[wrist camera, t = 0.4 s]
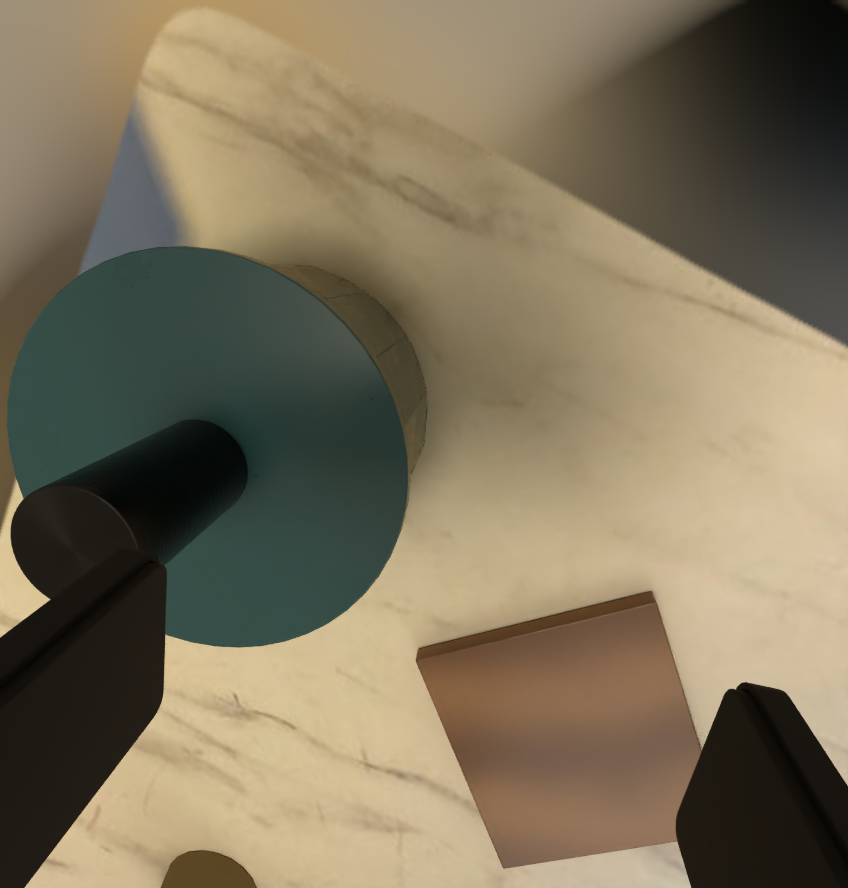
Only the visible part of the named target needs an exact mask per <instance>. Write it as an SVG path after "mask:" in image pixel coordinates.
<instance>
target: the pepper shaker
mask: <svg viewBox="0 0 848 888" xmlns="http://www.w3.org/2000/svg"><path fill="white" fill-rule="evenodd" d="M161 888H256V887H255V884H254V882H253V880H252V878H251V877H250V875H249V874H248V873H247V872H246V871H245V870H244V868H243V867H241V866H240V865H238V864H237V863H236V862H234V861H233V860H231V859H229V858H227V857H225V856H222V855H220V854H217V853H212V852H206V851H195V852H188V853H186V854H183V855H181V856H179V857H177V858H176V859H175V860H174V861H173V862H172V863H171V864H170V867H169V869H168V871H167V874H166V876H165V879H164V881H163V884H162V886H161Z"/></svg>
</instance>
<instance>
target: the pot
mask: <svg viewBox="0 0 848 888" xmlns="http://www.w3.org/2000/svg"><path fill="white" fill-rule="evenodd" d="M271 266H273V267H276V268H278V269H280V270H282V271H284V272H285V273H287V274H289V275H291V276H292V277H294V278H296V279H298V280H300V281H301V282H303V283H305V284H306V285H307V286H309V287H310V288H311V289H313V290H314V291H315V292H317V293H318V294H319V295H321V296H322V297H323V298H325V299H326V300H327V301H329V302H330V303H331V304H332V305H333V306H334V307H335V308H336V309H337V310H338V311H339V312H340V313H341V314H342V315H343V316H344V317H345V318H346V319H347V320H348V321H350V323H351V324H352V325H353V326H354V328H355V329H356V330H357V331H358V332H359V334H360V335H361V336H362V337H363V339H364V340H365V341H366V342H367V344H368V345H369V346H370V348H371V349H372V351H373V353H374V354H375V356H376V357H377V359H378V361H379V362H380V364H381V366H382V367H383V369H384V370H385V372H386V375H387V377H388V379H389V381H390V383H391V386H392V388H393V390H394V392H395V394H396V396H397V399H398V403H399V406H400V409H401V412H402V415H403V419H404V422H405V426H406V432H407V438H408V443H409V449H410V469H411V473H412V471H413V469H414V467H415V464H416V462H417V460H418V457H419V455H420V453H421V451H422V448H423V446H424V442H425V429H426V419H427V396H426V393H427V391H426V386H425V383H424V378H423V375H422V372H421V368H420V365H419V361H418V359H417V357H416V355H415V352H414V350H413V348H412V346H411V343H410V342H409V340H408V337H407V336H406V334H405V333H404V332H403V330H402V329H401V327H400V326H399V325H398V323H397V322H396V321H395V320H394V318H393V317H392V316H391V315H390V313H389V312H388V311H387V310H386V309H385V308H384V307H382V306H381V305H380V304H379V303H378V302H377V301H376V300H375V299H374V298H373V297H371V296H370V295H369V293H366V291H364V290H362V289H361V288H359V287H357V286H355V285H354V284H352V283H350V282H348V281H347V280H345V279H343V278H340V277H338V276H335V275H333V274H330V273H328V272H325V271H323V270H321V269H319V268H316V267H312V266H292V265H271Z"/></svg>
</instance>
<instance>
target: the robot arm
mask: <svg viewBox="0 0 848 888" xmlns="http://www.w3.org/2000/svg"><path fill="white" fill-rule="evenodd" d="M166 594H167V569H166V567H165V566H164V565H161V564H159V559H158V557H157V556H156V555H155V554H151V553H147V552H142V551H137V550H133V549H128V548H119V549H118V550H116V551H114V552H113V553H112V554H110V555H109V556H108V557H106V558H105V559H104V560H102V561H101V562H100V563H99V564H97V565H96V566H95V567H93V568H92V569H91V570H89V571H88V572H87V573H85V574H84V575H83V576H81V577H80V578H79V579H77V580H76V581H75V582H73V583H72V584H71V585H69V586H68V587H67V588H65V589H64V590H63V591H61V592H60V593H59V594H57V595H56V596H55V597H54V598H52V599H51V600H50V601H48V602H47V603H46V604H44V605H43V606H42V607H40V608H39V609H38V610H36V611H35V612H34V613H32V614H31V615H30V616H28V617H27V618H26V619H24V620H23V621H22V622H20V623H19V624H18V625H16V626H15V627H14V628H12V629H11V630H10V631H8V632H7V633H6V634H5V635H3V636H2V637H1V638H0V888H25V886H26V885H27V884H28V882H29V881H30V880H31V878H32V877H33V876H34V874H35V873H36V872H37V870H38V869H39V868H40V866H41V865H42V864H43V863H44V861H45V860H46V859H47V857H48V856H49V855H50V853H51V852H52V851H53V849H54V848H55V847H56V845H57V844H58V843H59V841H60V840H61V839H62V837H63V836H64V835H65V834H66V832H67V831H68V830H69V828H70V827H71V826H72V824H73V823H74V822H75V820H76V819H77V818H78V816H79V815H80V814H81V812H82V811H83V810H84V809H85V807H86V806H87V805H88V803H89V802H90V801H91V799H92V798H93V797H94V795H95V794H96V793H97V791H98V790H99V789H100V787H101V786H102V785H103V784H104V782H105V781H106V780H107V778H108V777H109V776H110V774H111V773H112V772H113V770H114V769H115V768H116V766H117V765H118V764H119V762H120V761H121V760H122V758H123V757H124V756H125V755H126V753H127V752H128V751H129V749H130V748H131V747H132V745H133V744H134V743H135V741H136V740H137V739H138V737H139V736H140V735H141V733H142V732H143V731H144V730H145V728H146V727H147V726H148V724H149V723H150V722H151V720H152V719H153V718H154V716H155V715H156V713H157V711H158V709H159V707H160V704H161V702H162V698H163V690H164V658H165V626H166ZM676 837H677V841H678V845H679V848H680V851H681V855H682V858H683V861H684V865H685V868H686V871H687V875H688V878H689V881H690V885H691V888H848V786H847V784H846V783H845V781H844V780H843V778H842V777H841V775H840V774H839V772H838V771H837V769H836V768H835V766H834V765H833V763H832V761H831V760H830V758H829V757H828V755H827V754H826V752H825V751H824V749H823V748H822V746H821V745H820V743H819V742H818V740H817V739H816V737H815V736H814V734H813V732H812V731H811V729H810V728H809V726H808V725H807V723H806V722H805V720H804V719H803V717H802V716H801V714H800V713H799V711H798V710H797V708H796V707H795V705H794V703H793V702H792V700H791V699H790V697H789V696H788V695H787V694H786V693H785V692H784V691H782V690H779V689H775V688H770V687H765V686H761V685H756V684H752V683H747V682H744V683H741V684H740V685H739V686H738V687H737V689H736V690H735V689H729V690H728V691H726V693H725V695H724V697H723V699H722V702H721V704H720V707H719V709H718V712H717V714H716V717H715V719H714V722H713V724H712V727H711V729H710V732H709V734H708V737H707V739H706V742H705V744H704V747H703V749H702V752H701V754H700V757H699V759H698V762H697V764H696V767H695V769H694V772H693V774H692V777H691V779H690V782H689V784H688V787H687V789H686V792H685V794H684V797H683V800H682V802H681V805H680V807H679V810H678V812H677V816H676Z"/></svg>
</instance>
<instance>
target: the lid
mask: <svg viewBox="0 0 848 888" xmlns="http://www.w3.org/2000/svg"><path fill="white" fill-rule="evenodd" d="M7 409H8V410H7V430H8V438H9V448H10V454H11V458H12V463H13V467H14V471H15V475H16V479H17V481H18V484H19V487H20V490H21V493H22V495H23V498H24V499H23V500H22V502H21V503H20V504H19V506H18V507H17V509H16V511H15V513H14V516H13V519H12V524H11V544H12V548H13V553H14V555H15V558H16V561H17V563H18V564H19V566H20V568H21V570H22V571H23V573H24V575H25V576H26V577H27V579H28V580H29V581H30V582H31V583H32V584H33V585H34V586H35V587H36V588H37V589H38V590H39V591H40V592H41V593H42V594H44V595H45V596H46V597H48V598H49V599H52V598H54V597H55V596H56V595H57V594H59V593H60V592H61V591H63V590H64V589H65V588H67V587H68V586H69V585H71V584H72V583H73V582H75V581H76V580H77V579H79V578H80V577H81V576H83V575H84V574H85V573H87V572H88V571H89V570H91V569H92V568H93V567H95V566H96V565H97V564H99V563H100V562H101V561H102V560H104V559H105V558H106V557H108V556H109V555H110V554H112V553H113V552H114V551H116V550H118V549H119V548H128V549H133V550H137V551H142V552H147V553H151V554H155V555H156V556H157V557H158V559H159V564H161V565H164V566H165V567H166V569H167V594H166V626H165V634H166V635H168V636H172V637H175V638H179V639H182V640H186V641H189V642H193V643H199V644H205V645H211V646H221V647H253V646H264V645H269V644H274V643H279V642H284V641H287V640H290V639H293V638H296V637H299V636H302V635H305V634H308V633H310V632H312V631H314V630H316V629H318V628H320V627H322V626H324V625H326V624H328V623H329V622H331V621H332V620H334V619H335V618H337V617H338V616H340V615H341V614H342V613H344V612H345V611H347V610H348V609H349V608H350V607H351V606H352V605H353V604H354V603H356V602H357V601H358V600H359V599H360V598H361V597H362V596H363V595H364V594H365V593H366V591H367V590H368V589H369V588H370V587H371V585H372V584H373V583H374V582H375V580H376V579H377V578H378V577H379V575H380V573H381V572H382V570H383V568H384V566H385V565H386V563H387V561H388V560H389V558H390V556H391V554H392V551H393V549H394V547H395V544H396V542H397V539H398V537H399V534H400V532H401V529H402V526H403V522H404V518H405V514H406V510H407V506H408V500H409V490H410V480H411V469H410V449H409V443H408V438H407V432H406V426H405V422H404V419H403V415H402V412H401V409H400V406H399V403H398V399H397V396H396V394H395V392H394V390H393V388H392V386H391V383H390V381H389V379H388V377H387V375H386V372H385V370H384V369H383V367H382V366H381V364H380V362H379V361H378V359H377V357H376V356H375V354H374V353H373V351H372V349H371V348H370V346H369V345H368V344H367V342H366V341H365V340H364V339H363V337H362V336H361V335H360V334H359V332H358V331H357V330H356V329H355V328H354V326H353V325H352V324H351V323H350V321H348V320H347V319H346V318H345V317H344V316H343V315H342V314H341V313H340V312H339V311H338V310H337V309H336V308H335V307H334V306H333V305H332V304H331V303H330V302H329V301H327V300H326V299H325V298H323V297H322V296H321V295H319V294H318V293H317V292H315V291H314V290H313V289H311V288H310V287H309V286H307V285H306V284H305V283H303V282H301V281H300V280H298V279H296V278H294V277H292V276H291V275H289V274H287V273H285V272H284V271H282V270H280V269H278V268H276V267H273V266H271V265H268V264H266V263H263V262H261V261H258V260H256V259H253V258H251V257H248V256H244V255H240V254H236V253H232V252H228V251H224V250H218V249H208V248H199V247H188V246H180V247H156V248H151V249H146V250H140V251H135V252H130V253H127V254H124V255H121V256H119V257H116V258H113V259H110V260H107V261H104V262H103V263H101V264H99V265H97V266H95V267H93V268H92V269H90V270H88V271H86V272H84V273H83V274H81V275H80V276H78V277H77V278H76V279H74V280H73V281H72V282H71V283H69V284H68V285H67V286H65V287H64V288H63V289H62V290H60V292H59V293H58V294H57V295H56V296H55V297H54V298H53V299H52V300H51V301H50V302H49V303H48V304H47V305H46V307H45V308H44V309H43V310H42V311H41V313H40V315H39V316H38V317H37V319H36V321H35V322H34V323H33V325H32V326H31V328H30V329H29V331H28V333H27V336H26V338H25V340H24V342H23V344H22V346H21V348H20V351H19V353H18V356H17V359H16V363H15V366H14V369H13V373H12V376H11V382H10V389H9V396H8V407H7Z"/></svg>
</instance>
